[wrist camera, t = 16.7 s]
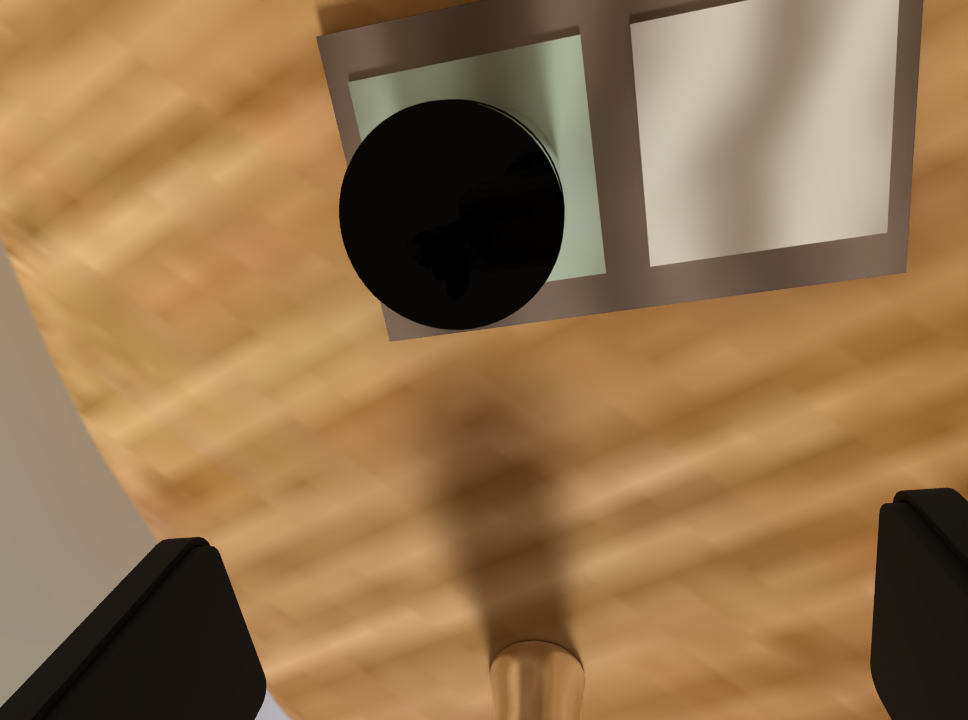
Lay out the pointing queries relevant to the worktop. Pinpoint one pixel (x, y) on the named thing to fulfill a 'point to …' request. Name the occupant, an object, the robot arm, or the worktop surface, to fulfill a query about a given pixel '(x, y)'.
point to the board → (674, 134)
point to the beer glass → (536, 683)
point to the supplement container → (453, 212)
